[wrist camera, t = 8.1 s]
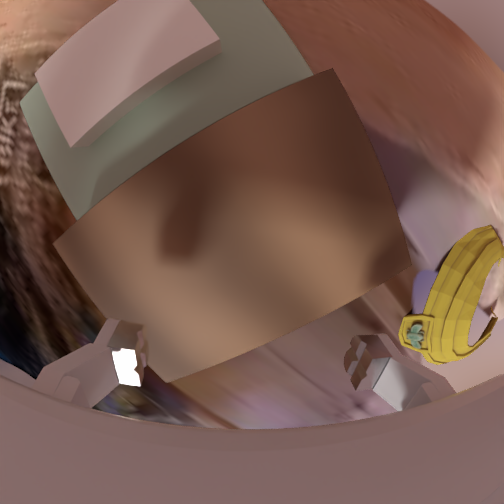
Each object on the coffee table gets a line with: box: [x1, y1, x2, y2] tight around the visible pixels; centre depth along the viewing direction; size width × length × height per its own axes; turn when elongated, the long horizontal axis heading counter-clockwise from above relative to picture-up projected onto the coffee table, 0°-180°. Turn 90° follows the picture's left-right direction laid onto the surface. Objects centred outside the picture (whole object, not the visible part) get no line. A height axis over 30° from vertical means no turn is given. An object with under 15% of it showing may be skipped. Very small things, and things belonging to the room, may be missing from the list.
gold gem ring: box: [398, 225, 504, 365], centre depth 17 cm, size 13×13×4 cm
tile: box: [35, 0, 222, 148], centre depth 10 cm, size 9×6×2 cm, turn 121°
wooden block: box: [53, 68, 412, 383], centre depth 14 cm, size 15×10×4 cm, turn 119°
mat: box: [20, 0, 314, 220], centre depth 12 cm, size 16×10×1 cm, turn 119°
